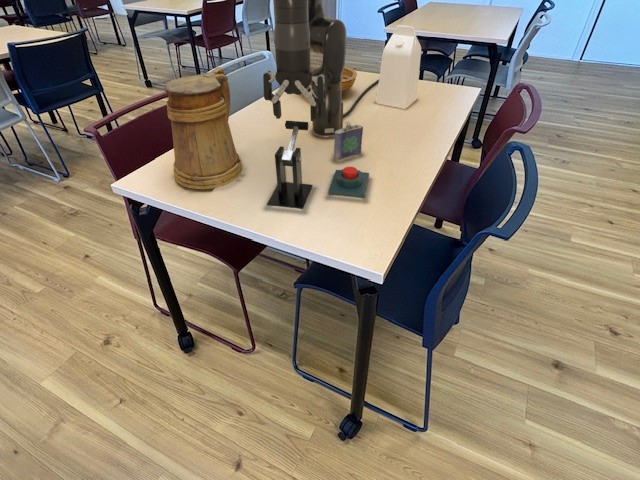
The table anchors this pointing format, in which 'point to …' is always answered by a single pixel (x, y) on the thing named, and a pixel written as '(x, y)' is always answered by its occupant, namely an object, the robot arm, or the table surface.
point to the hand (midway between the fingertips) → (295, 118)
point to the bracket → (289, 183)
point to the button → (349, 172)
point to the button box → (349, 185)
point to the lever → (292, 139)
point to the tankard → (202, 130)
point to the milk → (400, 69)
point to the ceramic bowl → (344, 78)
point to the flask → (348, 141)
